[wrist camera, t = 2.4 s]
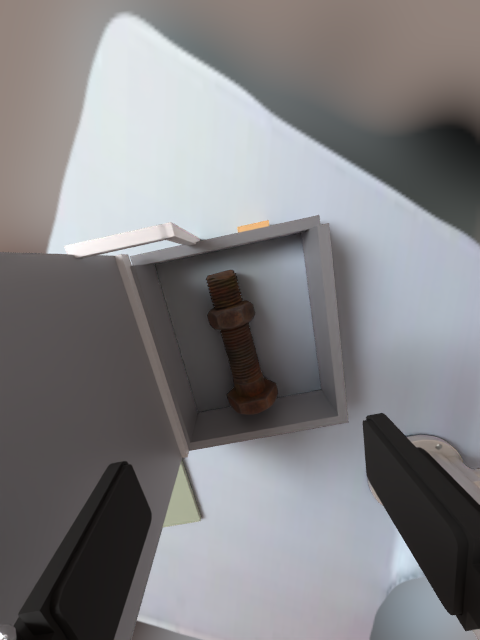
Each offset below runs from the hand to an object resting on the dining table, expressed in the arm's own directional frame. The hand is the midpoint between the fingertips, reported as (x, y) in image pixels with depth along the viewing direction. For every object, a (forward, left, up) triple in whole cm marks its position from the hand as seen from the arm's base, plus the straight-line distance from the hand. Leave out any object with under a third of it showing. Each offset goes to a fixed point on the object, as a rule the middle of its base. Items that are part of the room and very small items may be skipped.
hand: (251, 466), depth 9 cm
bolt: (0, +1, -19) cm, 19 cm away
